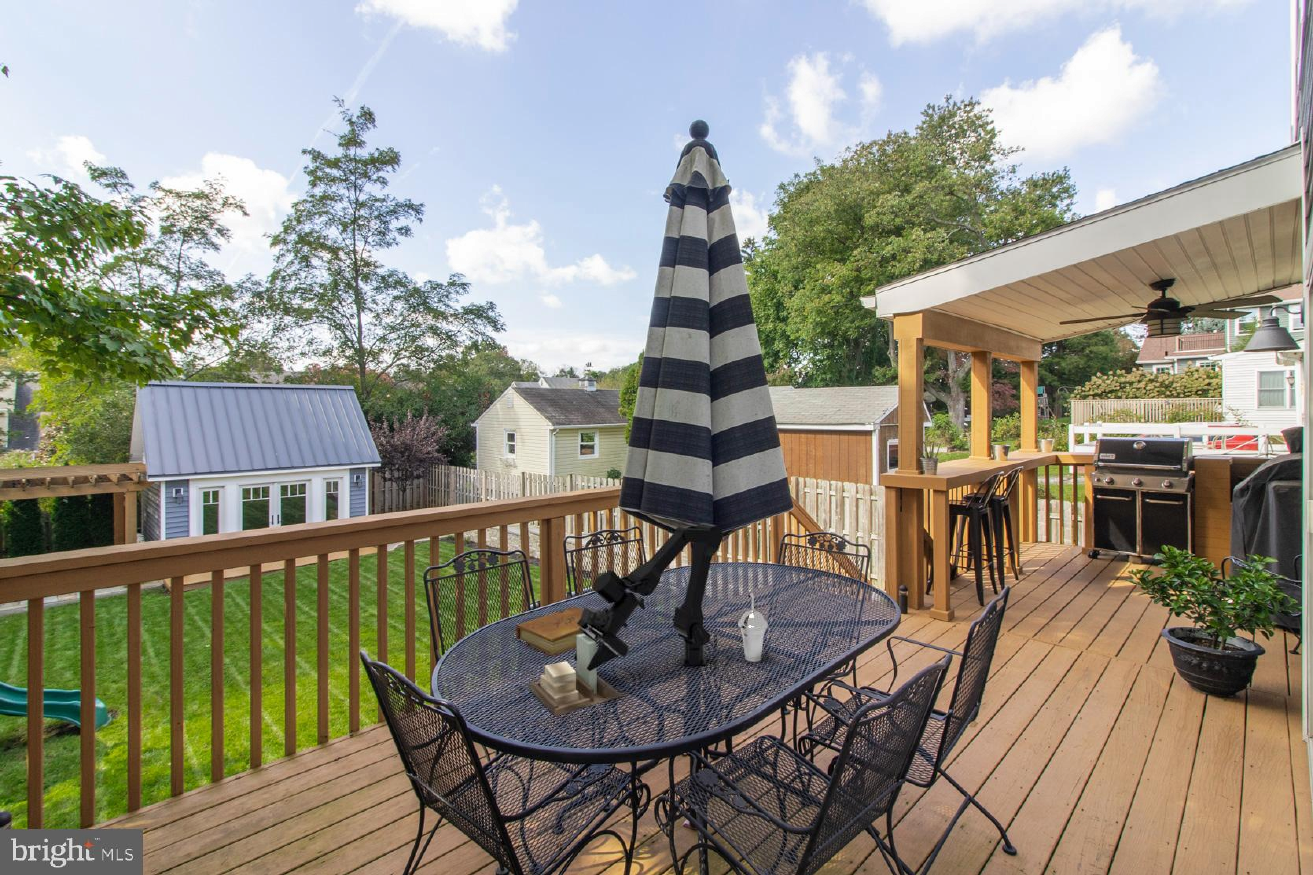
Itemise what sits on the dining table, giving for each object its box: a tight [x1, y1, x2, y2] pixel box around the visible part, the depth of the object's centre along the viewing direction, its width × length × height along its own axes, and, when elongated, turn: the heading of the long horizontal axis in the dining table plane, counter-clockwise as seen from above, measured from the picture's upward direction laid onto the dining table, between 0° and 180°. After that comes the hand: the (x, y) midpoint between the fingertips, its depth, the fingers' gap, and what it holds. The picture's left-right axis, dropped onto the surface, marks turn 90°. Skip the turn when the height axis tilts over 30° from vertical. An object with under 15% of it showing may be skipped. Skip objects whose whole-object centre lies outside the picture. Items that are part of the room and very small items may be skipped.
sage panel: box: [576, 634, 598, 694], centre depth 147 cm, size 2×7×13 cm, turn 33°
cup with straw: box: [737, 592, 769, 663], centre depth 167 cm, size 8×9×20 cm
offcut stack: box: [539, 661, 578, 706], centre depth 143 cm, size 7×9×7 cm
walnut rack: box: [529, 674, 624, 717], centre depth 146 cm, size 18×16×4 cm
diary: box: [515, 606, 601, 657], centre depth 185 cm, size 23×19×6 cm
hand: (581, 664), depth 147 cm, fingers closed on sage panel, 7 cm apart
